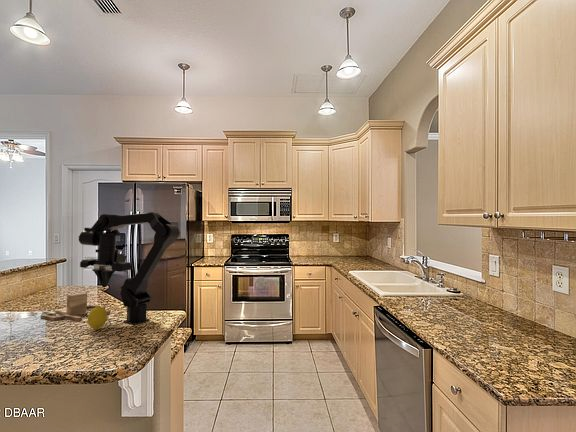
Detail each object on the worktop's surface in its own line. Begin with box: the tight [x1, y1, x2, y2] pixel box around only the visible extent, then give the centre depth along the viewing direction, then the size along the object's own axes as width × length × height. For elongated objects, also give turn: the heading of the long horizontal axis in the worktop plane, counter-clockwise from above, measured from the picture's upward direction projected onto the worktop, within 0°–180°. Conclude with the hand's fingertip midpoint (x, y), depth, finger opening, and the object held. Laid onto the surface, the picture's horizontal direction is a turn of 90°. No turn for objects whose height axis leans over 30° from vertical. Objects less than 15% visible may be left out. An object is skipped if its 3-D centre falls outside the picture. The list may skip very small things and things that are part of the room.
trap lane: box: [40, 304, 111, 322], centre depth 122 cm, size 23×20×1 cm
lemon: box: [87, 305, 108, 331], centre depth 102 cm, size 6×6×8 cm
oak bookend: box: [53, 292, 88, 316], centre depth 124 cm, size 11×6×8 cm, turn 66°
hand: (104, 287), depth 117 cm, fingers closed
